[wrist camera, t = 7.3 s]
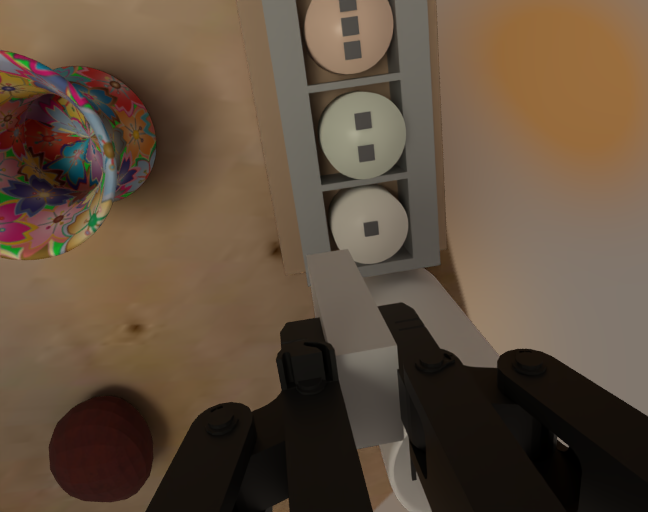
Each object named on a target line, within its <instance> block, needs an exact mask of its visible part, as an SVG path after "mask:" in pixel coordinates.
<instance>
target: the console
mask: <svg viewBox="0 0 648 512" xmlns="http://www.w3.org/2000/svg"><path fill="white" fill-rule="evenodd" d="M311 1H312V0H236V4H237V9H238V15H239V20H240V26H241V32H242V37H243V43H244V48H245V54H246V59H247V65H248V70H249V76H250V82H251V87H252V93H253V98H254V104H255V109H256V115H257V120H258V126H259V131H260V137H261V143H262V148H263V154H264V159H265V165H266V170H267V176H268V181H269V187H270V192H271V198H272V204H273V209H274V215H275V220H276V226H277V231H278V237H279V242H280V248H281V253H282V259H283V265H284V270H285V276H286V275H292V274H299V273H305V272H306V276H307V282H308V287H309V286H311V284H310V277H309V271H308V264H307V257H306V255H312V254H318V253H325V252H331V251H337V250H340V249H339V248H338V246H337V244H336V242H335V239H334V237H333V234H332V231H331V229H330V226H329V222H328V210H329V206H330V203H331V201H332V199H333V198H334V196H335V195H336V194H337V192H338V191H339V190H341V189H342V188H349V187H355V186H362V185H368V184H374V183H377V184H379V185H381V186H383V187H384V188H385V189H386V190H388V191H389V192H390V193H391V194H392V195H393V196H394V197H395V198H396V199H397V200H398V201H399V202H400V203H401V205H402V206H403V208H404V209H405V212H406V214H407V218H408V233H407V236H406V239H405V241H404V243H403V245H402V246H401V248H400V249H399V250H398V251H397V252H396V253H395V254H394V255H393V256H391V257H390V258H388V259H386V260H384V261H382V262H379V263H373V264H363V263H358V262H355V261H354V262H355V264H356V266H357V268H358V270H359V272H360V274H361V276H362V277H363V278H364V277H370V276H376V275H382V274H388V273H394V272H400V271H406V270H413V269H419V268H425V267H431V266H437V265H440V250H446V249H447V235H446V213H445V190H444V168H443V145H442V123H441V99H440V76H439V54H438V31H437V10H436V0H388V2H389V5H390V7H391V11H392V15H393V34H392V38H391V42H390V45H389V47H388V49H387V51H386V52H385V54H384V56H383V57H382V58H381V59H380V60H379V61H378V62H377V63H376V64H375V65H374V66H372V67H371V68H369V69H367V70H365V71H363V72H360V73H355V74H345V75H338V74H333V73H330V72H327V71H325V70H323V69H322V68H320V67H319V66H318V65H317V64H316V63H314V61H313V60H312V59H311V57H310V56H309V54H308V52H307V50H306V48H305V45H304V40H303V22H304V18H305V15H306V12H307V10H308V8H309V6H310V3H311ZM351 91H362V92H371V93H376V94H379V95H382V96H384V97H386V98H387V99H389V100H390V101H391V102H393V103H394V104H395V105H396V107H397V108H398V109H399V111H400V113H401V114H402V117H403V119H404V122H405V127H406V142H405V146H404V149H403V152H402V154H401V156H400V158H399V159H398V161H397V162H396V163H395V164H394V166H393V167H392V168H390V169H389V170H388V171H387V172H385V173H384V174H382V175H380V176H377V177H375V178H370V179H355V178H351V177H348V176H346V175H344V174H342V173H340V172H339V171H338V170H337V169H335V168H334V167H333V165H332V164H331V163H330V161H329V160H328V159H327V157H326V156H325V154H324V153H323V151H322V149H321V147H320V144H319V140H318V123H319V119H320V116H321V114H322V112H323V110H324V109H325V107H326V106H327V105H328V104H329V103H330V102H331V101H332V100H333V99H334V98H336V97H337V96H339V95H341V94H344V93H347V92H351Z"/></svg>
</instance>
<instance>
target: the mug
mask: <svg viewBox="0 0 648 512" xmlns="http://www.w3.org/2000/svg"><path fill="white" fill-rule="evenodd" d="M155 156H156V135H155V130H154V126H153V123H152V120H151V118H150V115H149V113H148V112H147V110H146V108H145V106H144V105H143V103H142V102H141V101H140V99H139V98H138V97H137V96H136V95H135V93H134V92H133V91H132V90H131V89H129V88H128V87H127V86H126V85H125V84H123V83H122V82H121V81H119V80H118V79H116V78H115V77H113V76H111V75H109V74H107V73H105V72H102V71H99V70H96V69H93V68H88V67H81V66H68V67H61V68H57V69H53V70H52V69H50V68H49V67H47V66H45V65H43V64H41V63H39V62H37V61H35V60H33V59H30V58H28V57H25V56H22V55H19V54H16V53H13V52H8V51H3V50H0V257H1V258H6V259H15V260H36V259H44V258H49V257H54V256H57V255H60V254H63V253H65V252H68V251H70V250H72V249H74V248H75V247H77V246H79V245H80V244H82V243H83V242H85V241H86V240H87V239H88V238H89V237H91V236H92V235H93V234H94V233H95V232H96V231H97V229H98V228H99V227H100V226H101V224H102V223H103V222H104V220H105V218H106V217H107V215H108V213H109V211H110V208H111V206H112V203H113V202H114V201H118V200H120V199H123V198H125V197H127V196H129V195H130V194H132V193H133V192H135V191H136V190H137V189H138V188H139V187H140V186H141V185H142V184H143V183H144V182H145V180H146V179H147V177H148V176H149V174H150V172H151V170H152V167H153V164H154V161H155Z"/></svg>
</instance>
